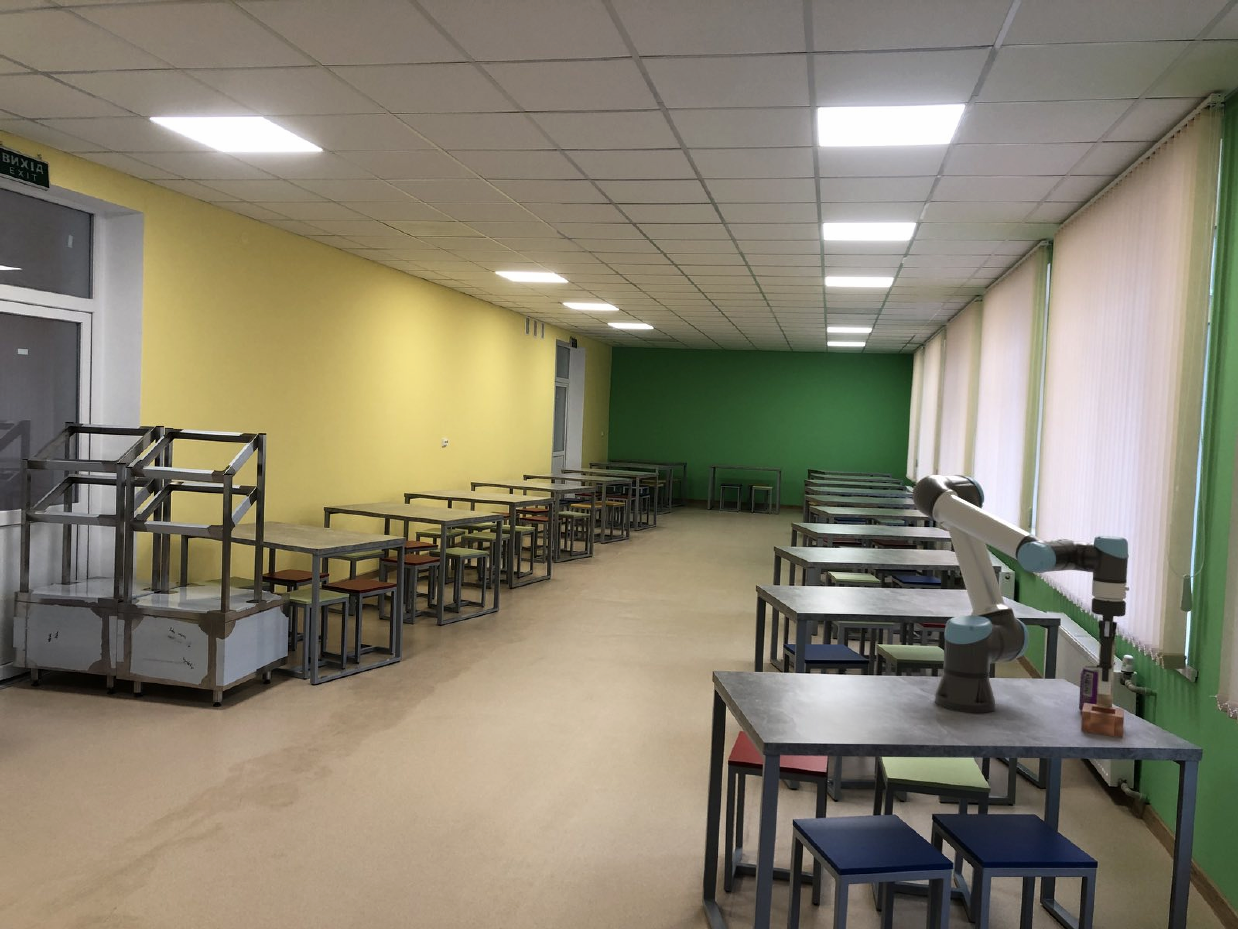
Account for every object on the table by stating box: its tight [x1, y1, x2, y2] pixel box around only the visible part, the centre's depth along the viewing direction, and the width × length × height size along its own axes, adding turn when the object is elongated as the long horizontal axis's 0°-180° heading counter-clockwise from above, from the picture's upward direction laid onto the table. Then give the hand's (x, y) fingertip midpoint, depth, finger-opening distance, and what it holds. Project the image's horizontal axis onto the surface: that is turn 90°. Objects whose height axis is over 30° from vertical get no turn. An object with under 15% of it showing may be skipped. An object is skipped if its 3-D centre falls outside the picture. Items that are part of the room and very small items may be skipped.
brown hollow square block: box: [1080, 703, 1125, 739], centre depth 230 cm, size 9×9×5 cm
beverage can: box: [1078, 665, 1098, 712], centre depth 245 cm, size 7×7×12 cm
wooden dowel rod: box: [1097, 634, 1116, 708], centre depth 230 cm, size 4×4×18 cm
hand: (1104, 692), depth 230 cm, fingers closed on wooden dowel rod, 3 cm apart
